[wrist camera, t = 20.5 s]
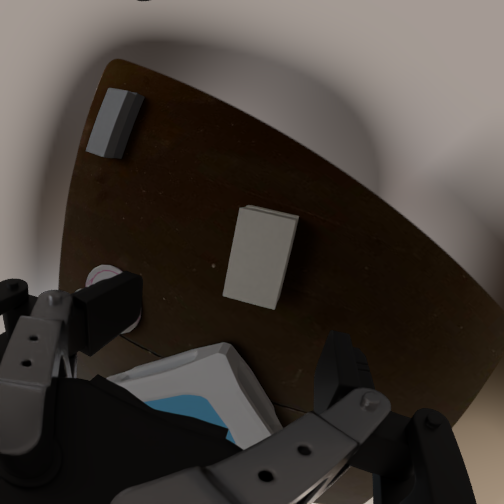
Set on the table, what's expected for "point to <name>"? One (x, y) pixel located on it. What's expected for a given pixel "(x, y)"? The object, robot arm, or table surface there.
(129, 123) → the gray block
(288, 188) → the table surface
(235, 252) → the light grey rectangular block
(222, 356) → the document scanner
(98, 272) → the teacup
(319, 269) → the table surface
